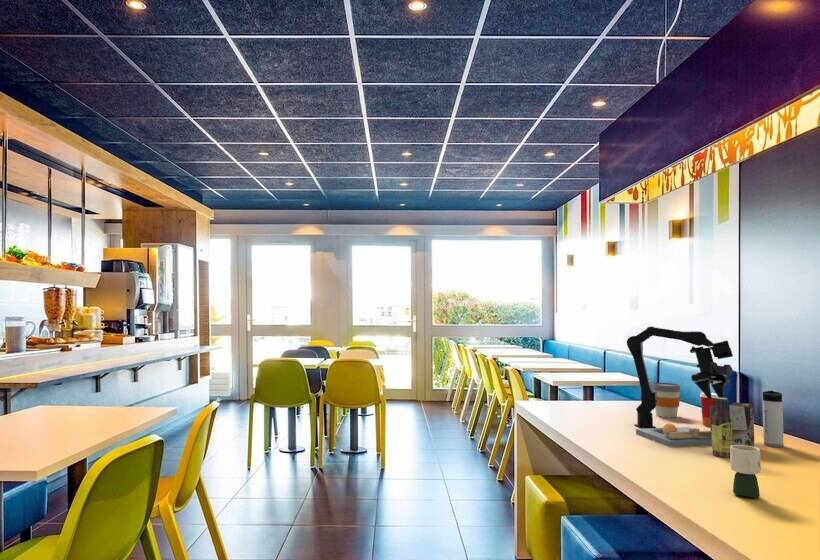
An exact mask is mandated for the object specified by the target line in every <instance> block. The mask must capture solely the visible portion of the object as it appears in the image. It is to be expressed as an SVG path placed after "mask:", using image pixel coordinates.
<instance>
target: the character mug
mask: <svg viewBox="0 0 820 560" xmlns="http://www.w3.org/2000/svg"><path fill="white" fill-rule="evenodd" d="M729 458H730V459H729V461H730V470H731V471H733V472H735V474H734V476H733V477H734V478H733V485H732V492H733V494H735V495H738V496H742V497H743V496H744V497H746V498H747V497H748V499H750V498H759V497H760V496H761V495H760V486H759V482H758V477H757V475H758V474H760V473H761V471H762V468H761V458H762V457H761V449H760V448H759V447H756V446H755V447H752V446H746V445H731V446H730V457H729ZM756 474H757V475H756Z"/></svg>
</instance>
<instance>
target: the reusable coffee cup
mask: <svg viewBox="0 0 820 560" xmlns="http://www.w3.org/2000/svg"><path fill="white" fill-rule="evenodd" d="M651 389H652V390H653V392H654V391H657V398H658V399H659V400H658V403H657V406H656V407H655V408H654V410H655V415H656V417H659V416H661V417H660V418H665V417H676V418H678V411H679V407H680V402H681V401H680V400H681V396H680V394H681V390H682V389H681V385H680V384H678V383H671V382H653V383H652V384H651Z"/></svg>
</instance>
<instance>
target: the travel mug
mask: <svg viewBox="0 0 820 560" xmlns="http://www.w3.org/2000/svg"><path fill="white" fill-rule="evenodd" d="M783 405H784V404H783V393H782V392H779V391H775V390H767V391H766V390H765V391H763V392H762V424H763V426H762V427H763V429H762V430H763V445H765V446H766V447H770V446H771V448H783V447H784V446H785V445H784V444H785V443H784V440H785V439H784V415H783V414H784V413H783V411H784V409H783V407H784V406H783Z"/></svg>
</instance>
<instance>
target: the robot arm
mask: <svg viewBox="0 0 820 560" xmlns="http://www.w3.org/2000/svg"><path fill="white" fill-rule="evenodd" d="M652 337H659V338H664V339H665V338H666V339H671V340H676V341H677V340H678V341H683V342H685V343H689V344H691V345H693V346H691V349H690V350H689V352H690V353H691V354H695V357H696V360H697V364H696V367H697V368H698V369H699V372H696V373H692V374H691V376H690V378H691V381H692V382H694V383H693V384H695V385H697V387H698V388H699V389H700V390H701V392H702V393H704V394H705V395H706V396H707V397H708V399H711V398H712V397H711V393H712V392H711V391H712V390H711V387H712V389H713V391H714V393H716V394H717V395H718V397H719V398H725V396H724V395H725V386H727V384H729V382H730V378H729V376H731V374H732V373H733V371H734V369H733V367H732V366H731V364H724V365H718V363H717V362H716V361H715V362H714V358H717V359H718V360H721V359H726V358H732V357H734V355H733V352H732V348H731V347H730V343H729V340H723V341H720V342H719V341H718V342H713V341H712V340H710V339H708V338H707V334H705V333H704V332H703V331H682V330H681V331H680V330H675V329H668V328H662V327H656V326H655V327H654V326H647V328H646V329H644V330H642V331H640V333H638V334H637V335H633V336H629V337H628V338H627V339H626V345H627V349H628V350H629V352H630V355H631V356H632V358H633V361H634V366H635V370H636V373H637V374H636V375H637V378H638V381H639V386H640V400H641V403H640V404H639V405H638V406H637V407H636V409H635V410H636V414H637V415H636V416H637V417H636V419H637V423H634V424H633V426H635V427H638V428H639V429H649V428H657V426H655V425H654V420H653V419H654V418H653V413H652V411H653V410H655V407H656V406H657V403H658V400H659V399H658V398H657V391H654V392H653V390H652V385H651V383H650V379H649V375H648V370H647V367H646V363H645V359H644V346H643V344H644V342H646V341H647V340H648V339H650V338H652ZM694 345H695V346H697V347H695V346H694ZM704 346H705V347H704ZM712 354H713V355H712ZM713 357H714V358H713ZM710 386H711V387H710Z"/></svg>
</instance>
